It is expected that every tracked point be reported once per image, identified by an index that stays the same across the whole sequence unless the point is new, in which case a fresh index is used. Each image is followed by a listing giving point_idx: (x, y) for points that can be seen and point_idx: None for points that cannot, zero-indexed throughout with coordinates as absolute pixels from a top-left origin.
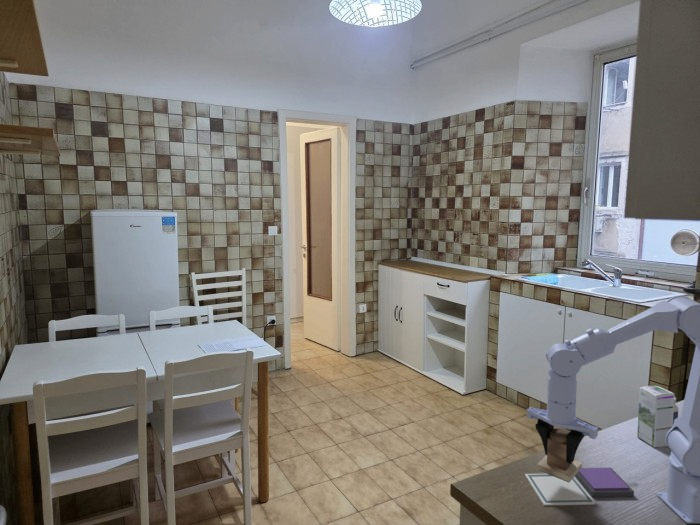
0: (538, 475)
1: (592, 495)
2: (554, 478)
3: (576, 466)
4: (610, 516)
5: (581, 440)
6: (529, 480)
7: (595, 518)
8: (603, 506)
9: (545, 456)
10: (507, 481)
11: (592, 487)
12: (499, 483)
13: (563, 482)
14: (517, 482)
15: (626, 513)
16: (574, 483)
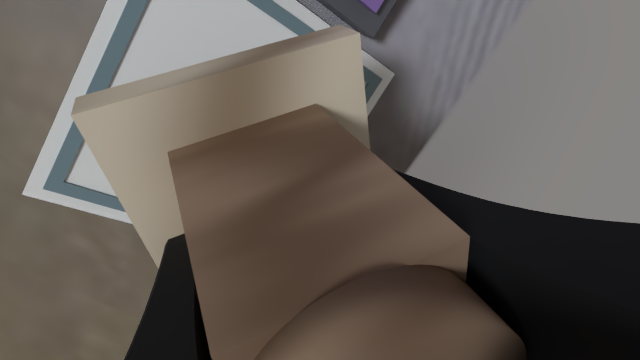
0: (78, 137)
1: (364, 34)
2: (149, 70)
3: (356, 115)
4: (450, 90)
5: (575, 221)
6: (100, 213)
7: (418, 148)
8: (414, 54)
9: (133, 215)
10: (46, 299)
11: (361, 3)
12: (46, 336)
13: (208, 59)
14: (77, 262)
15: (487, 13)
16: (249, 9)
